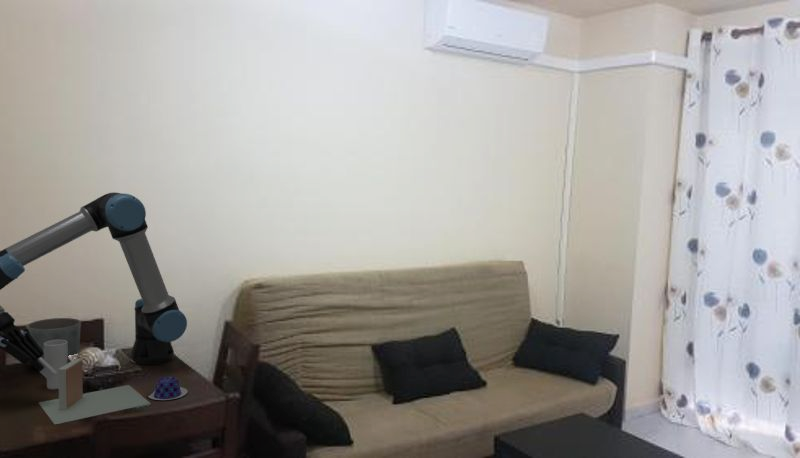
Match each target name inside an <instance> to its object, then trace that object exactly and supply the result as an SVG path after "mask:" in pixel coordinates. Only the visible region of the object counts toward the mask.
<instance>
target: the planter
mask: <svg viewBox="0 0 800 458" xmlns="http://www.w3.org/2000/svg"><path fill="white" fill-rule="evenodd" d="M81 327H82V321H81V320H79V319H78V318H73V317H72V318H71V317H55V318H46V319H45V318H44V319H39V320H35V321H32V322H29V323H28V324H27V325H26V326H25V329H28V330H29V333H30V335H31V336H32V337H33V339H34V340H35V341H36V343H37V344H38V345H39V347H40V348H41V349H42V350H43V352H44V343H45V342H47V341H51V340H66V341H67V344H68V356H69V355H74V354H77V353H78V354H79V352H80V343H81V342H80V341H81ZM42 358H43V359H44V355H43V356H42ZM69 362H70V360H69V359H68V358H67V364H68V363H69Z"/></svg>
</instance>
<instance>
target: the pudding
mask: <svg viewBox="0 0 800 458" xmlns="http://www.w3.org/2000/svg"><path fill="white" fill-rule="evenodd" d="M187 394H188V389H186V388H185V387H182V386H180V382H179V380H178V379H177V378H176V377H174V376H165V377H164V376H163V377H161V378H159V379H157V382H156V386H155V389H153V390H152V392H150V394H148V395H147V397H148V398H149V399H151V400H156V401H170V400H175V399H179V398H183V397H184V396H186V395H187Z"/></svg>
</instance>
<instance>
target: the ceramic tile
mask: <svg viewBox="0 0 800 458" xmlns="http://www.w3.org/2000/svg"><path fill="white" fill-rule="evenodd" d="M58 378H59V389H58V399H59V409H64V410H66V409H68V408H69V407H70V406H72V405H73V404H74V403H76V402H77V401H78V400H80V399H81V398H82V397H83V394H84V392H83V391H84V388H83V384H84V383H83V359H82V358H76V359H74V360H73V361H71V362H69V363H68V364H66V365H65V366H63V367H61V368H60V369H58Z"/></svg>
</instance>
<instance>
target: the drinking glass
mask: <svg viewBox="0 0 800 458" xmlns="http://www.w3.org/2000/svg"><path fill="white" fill-rule="evenodd" d="M67 358H68V344H67V341H66V340H51V341H47V342H45V343H44V360H45V361H46V362H47V363H48V364H49V365H50V366H51V367H52V368H53V369H54V370H55V371H56V372H57V373H56V374H55V375H54V376H53V377H52V378H51V379H49V380H48V379H47V378H46V377H45V379H46V388H47V389H48V390H59V378H58V369H60V368H61V367H63V366H65V365H66V364H67Z"/></svg>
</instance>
